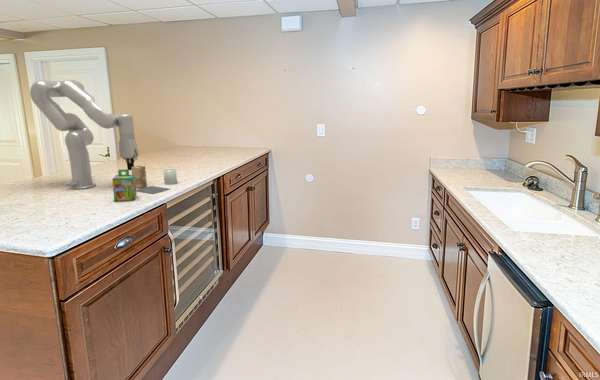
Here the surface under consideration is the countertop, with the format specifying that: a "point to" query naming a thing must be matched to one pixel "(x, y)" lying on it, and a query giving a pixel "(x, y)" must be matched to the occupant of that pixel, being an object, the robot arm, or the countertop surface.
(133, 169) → the block
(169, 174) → the white small cylinder
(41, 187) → the countertop surface
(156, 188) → the mat
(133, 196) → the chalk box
